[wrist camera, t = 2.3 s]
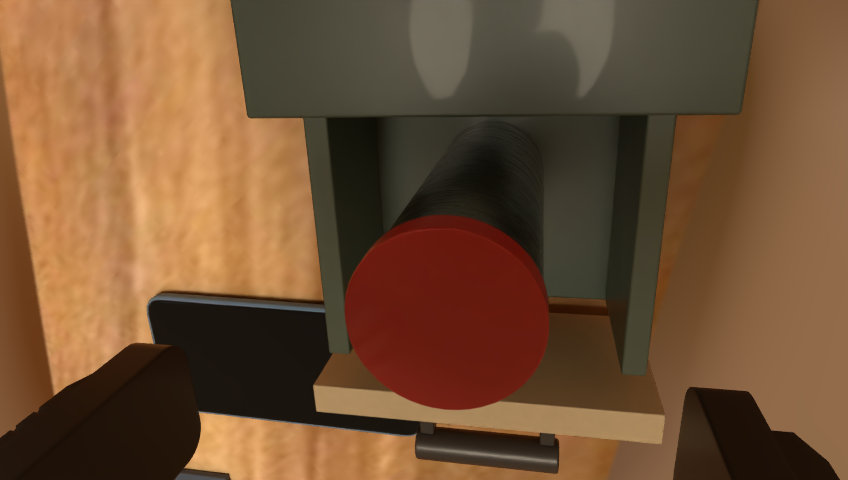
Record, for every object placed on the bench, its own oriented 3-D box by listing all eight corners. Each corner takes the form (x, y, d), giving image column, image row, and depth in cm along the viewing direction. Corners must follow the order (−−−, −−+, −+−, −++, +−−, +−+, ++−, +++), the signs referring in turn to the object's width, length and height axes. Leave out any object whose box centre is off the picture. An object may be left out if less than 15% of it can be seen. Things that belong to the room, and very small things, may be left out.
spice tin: (439, 118, 23) (334, 223, 11) (548, 117, 22) (554, 230, 11) (442, 219, 24) (351, 402, 13) (544, 221, 23) (544, 420, 12)
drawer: (625, 418, 27) (649, 537, 21) (372, 395, 30) (326, 497, 23) (664, 46, 21) (714, 59, 15) (343, 55, 24) (272, 70, 17)
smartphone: (140, 296, 30) (420, 317, 27) (150, 289, 31) (424, 308, 28) (165, 413, 33) (424, 443, 30) (174, 404, 34) (427, 432, 31)
